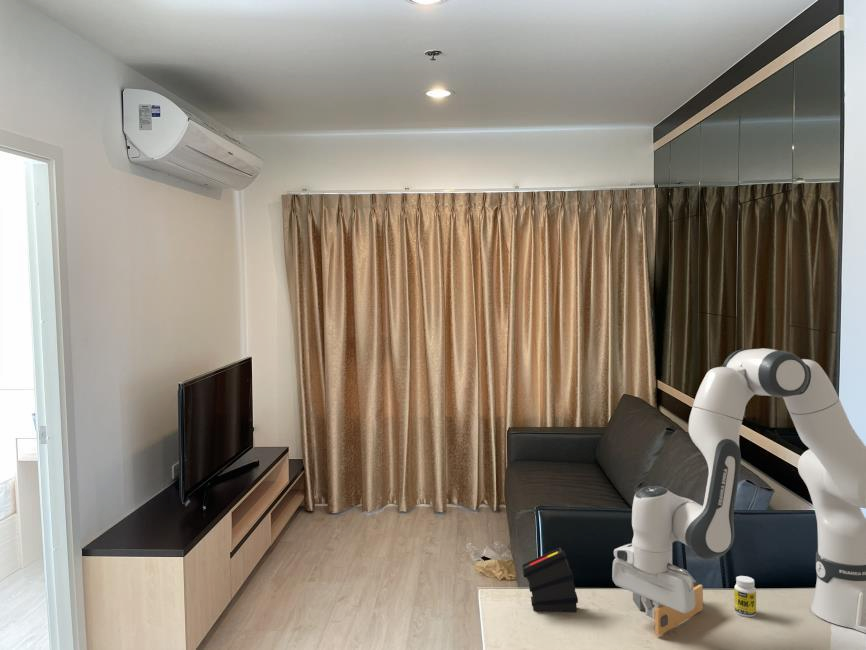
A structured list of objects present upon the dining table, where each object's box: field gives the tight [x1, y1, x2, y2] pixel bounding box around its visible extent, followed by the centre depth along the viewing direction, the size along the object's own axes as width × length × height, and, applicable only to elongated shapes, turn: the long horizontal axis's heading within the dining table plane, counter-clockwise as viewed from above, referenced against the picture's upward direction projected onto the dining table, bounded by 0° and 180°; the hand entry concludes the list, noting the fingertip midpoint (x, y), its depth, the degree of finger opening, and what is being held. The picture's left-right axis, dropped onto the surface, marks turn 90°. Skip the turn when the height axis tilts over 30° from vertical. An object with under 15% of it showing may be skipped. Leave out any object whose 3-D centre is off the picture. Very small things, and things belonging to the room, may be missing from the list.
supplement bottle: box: [733, 575, 757, 618], centre depth 157 cm, size 5×5×8 cm
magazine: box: [521, 547, 579, 613], centre depth 161 cm, size 4×13×15 cm, turn 84°
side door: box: [654, 583, 704, 637], centre depth 153 cm, size 20×1×6 cm, turn 129°
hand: (652, 616), depth 150 cm, fingers closed
